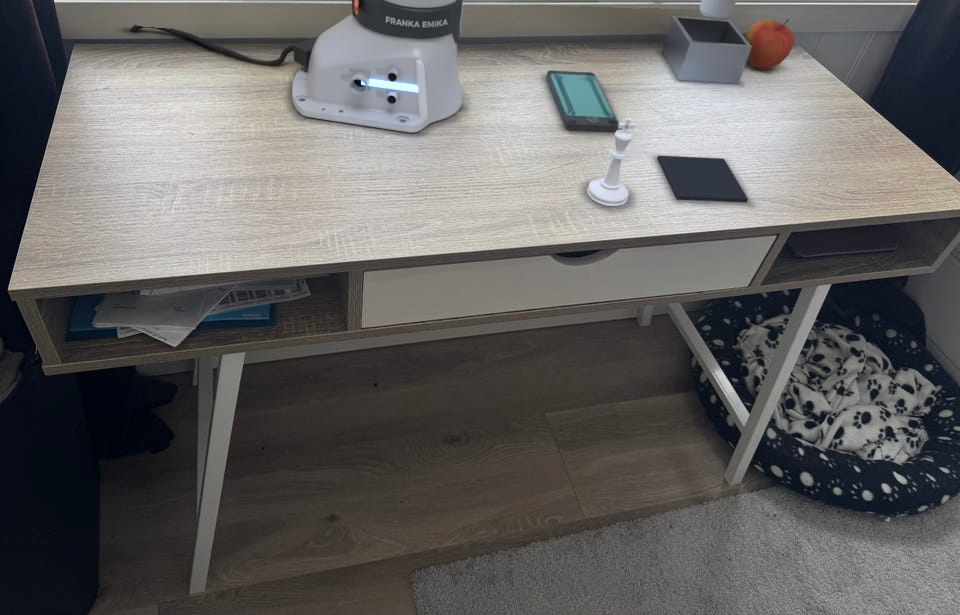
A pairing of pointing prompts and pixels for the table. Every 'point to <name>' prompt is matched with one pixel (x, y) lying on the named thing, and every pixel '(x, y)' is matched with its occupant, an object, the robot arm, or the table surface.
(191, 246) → the table surface
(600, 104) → the smartphone
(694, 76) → the holder
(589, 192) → the chess piece
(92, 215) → the table surface
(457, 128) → the table surface
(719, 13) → the beverage can
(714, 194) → the mat
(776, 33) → the apple
